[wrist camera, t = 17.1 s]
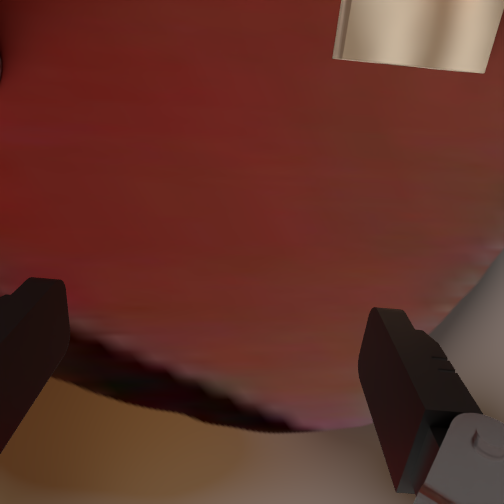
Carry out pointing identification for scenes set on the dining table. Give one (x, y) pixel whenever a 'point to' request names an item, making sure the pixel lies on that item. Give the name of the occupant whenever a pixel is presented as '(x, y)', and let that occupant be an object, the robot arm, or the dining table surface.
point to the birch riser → (419, 33)
